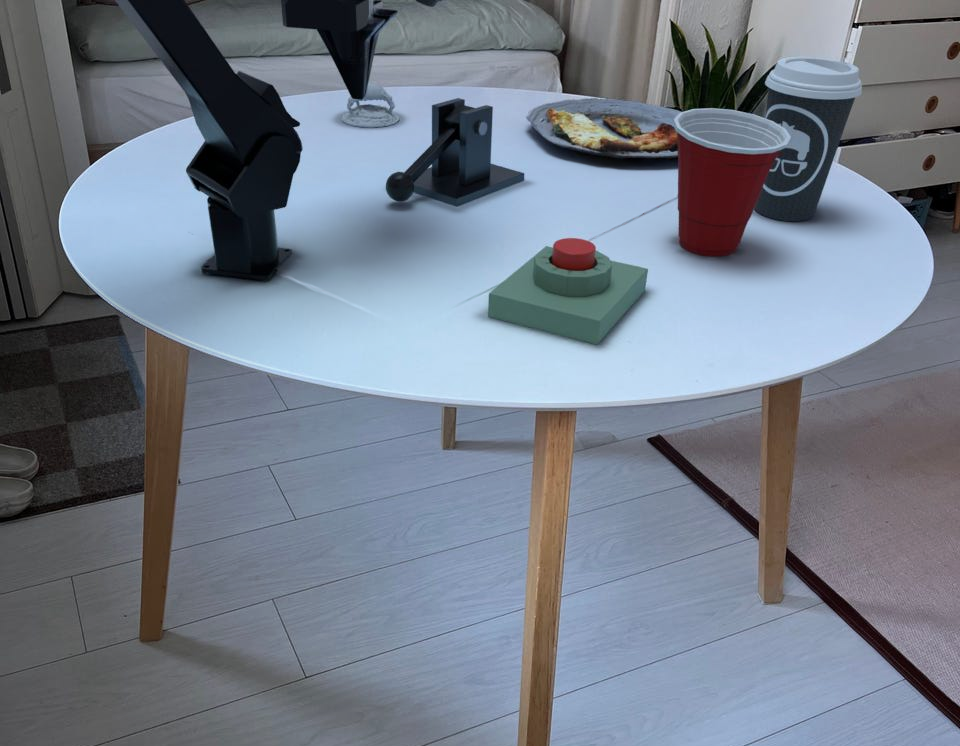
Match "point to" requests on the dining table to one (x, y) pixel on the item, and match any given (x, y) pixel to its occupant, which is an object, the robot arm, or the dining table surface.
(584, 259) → the button
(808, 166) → the coffee cup
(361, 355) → the dining table surface
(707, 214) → the plastic cup
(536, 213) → the dining table surface
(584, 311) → the button block
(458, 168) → the lever bracket
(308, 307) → the dining table surface
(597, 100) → the food plate
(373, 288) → the dining table surface
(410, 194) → the control lever
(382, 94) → the miniature
